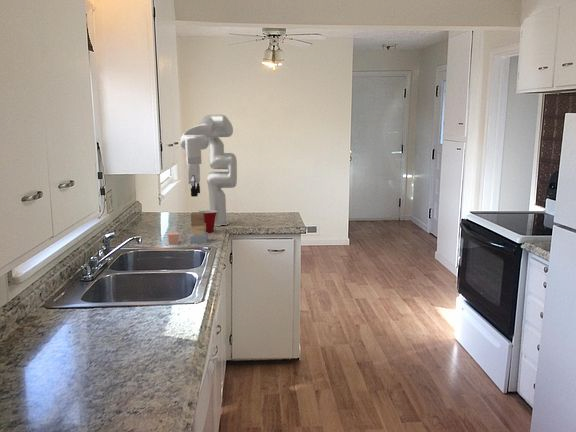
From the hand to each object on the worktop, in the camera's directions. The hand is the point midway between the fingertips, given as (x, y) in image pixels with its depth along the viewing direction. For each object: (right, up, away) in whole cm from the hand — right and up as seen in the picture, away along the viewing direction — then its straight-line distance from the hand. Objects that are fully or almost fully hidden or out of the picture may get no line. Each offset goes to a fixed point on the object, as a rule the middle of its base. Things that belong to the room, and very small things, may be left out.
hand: (195, 194), depth 252 cm
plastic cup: (+2, -20, +27) cm, 33 cm away
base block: (+1, -24, +5) cm, 25 cm away
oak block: (+1, -20, +5) cm, 21 cm away
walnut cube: (+1, -15, +3) cm, 16 cm away
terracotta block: (-12, -25, +2) cm, 27 cm away
